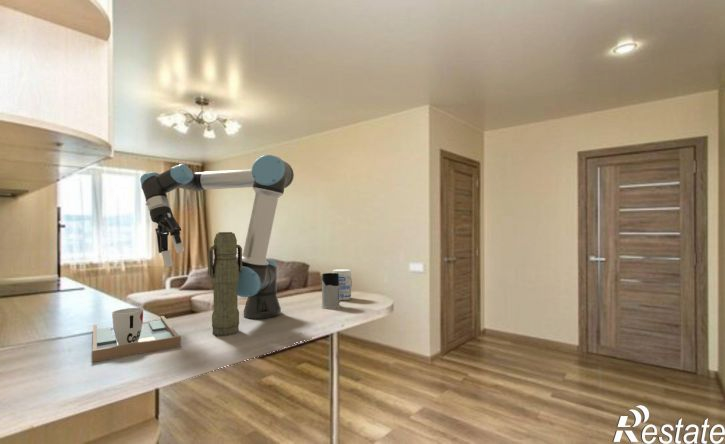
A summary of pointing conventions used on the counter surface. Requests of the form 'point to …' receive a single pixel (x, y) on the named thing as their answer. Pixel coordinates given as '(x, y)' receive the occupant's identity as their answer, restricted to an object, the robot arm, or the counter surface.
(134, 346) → the wooden tray
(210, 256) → the thermos
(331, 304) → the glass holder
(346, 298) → the supplement tub
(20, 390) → the counter surface
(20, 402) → the counter surface
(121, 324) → the cup
